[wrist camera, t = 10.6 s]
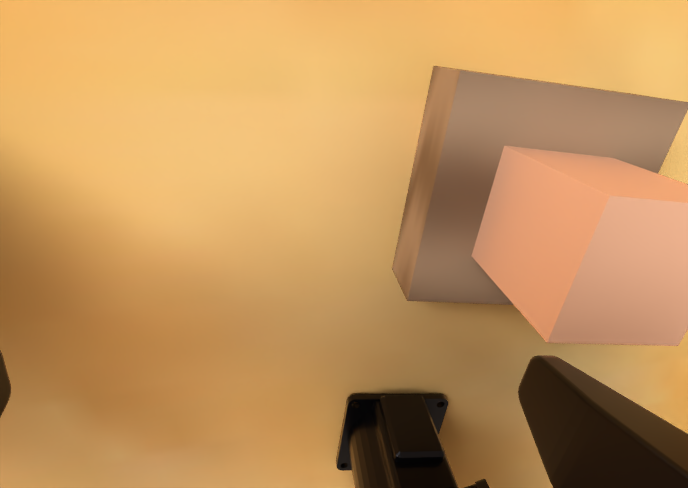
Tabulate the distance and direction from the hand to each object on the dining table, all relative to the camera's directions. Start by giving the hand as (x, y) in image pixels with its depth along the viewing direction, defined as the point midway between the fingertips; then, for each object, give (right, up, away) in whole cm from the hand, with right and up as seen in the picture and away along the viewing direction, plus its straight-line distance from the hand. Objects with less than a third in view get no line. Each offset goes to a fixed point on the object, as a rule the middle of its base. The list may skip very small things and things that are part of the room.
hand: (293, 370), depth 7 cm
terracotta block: (+9, +4, +11) cm, 15 cm away
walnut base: (+9, +5, +13) cm, 17 cm away
